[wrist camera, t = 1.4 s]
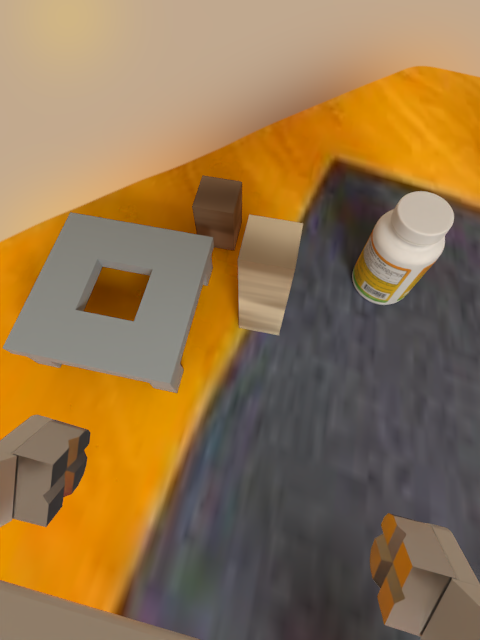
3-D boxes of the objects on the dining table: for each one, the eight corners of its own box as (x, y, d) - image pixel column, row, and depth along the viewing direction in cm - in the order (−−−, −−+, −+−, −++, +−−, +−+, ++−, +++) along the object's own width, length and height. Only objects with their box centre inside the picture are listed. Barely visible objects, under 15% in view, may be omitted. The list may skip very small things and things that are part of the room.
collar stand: (89, 242, 37) (70, 212, 33) (216, 265, 36) (213, 237, 32) (33, 365, 32) (2, 347, 28) (179, 397, 31) (170, 383, 27)
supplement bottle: (398, 253, 37) (448, 178, 28) (416, 302, 34) (477, 238, 25) (344, 260, 36) (378, 187, 27) (359, 309, 34) (401, 247, 25)
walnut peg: (207, 215, 39) (202, 175, 33) (241, 221, 38) (241, 181, 33) (198, 244, 37) (192, 206, 32) (234, 250, 37) (233, 213, 32)
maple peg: (247, 292, 35) (249, 214, 25) (285, 299, 34) (303, 223, 24) (239, 327, 33) (237, 259, 23) (278, 335, 33) (294, 269, 23)
